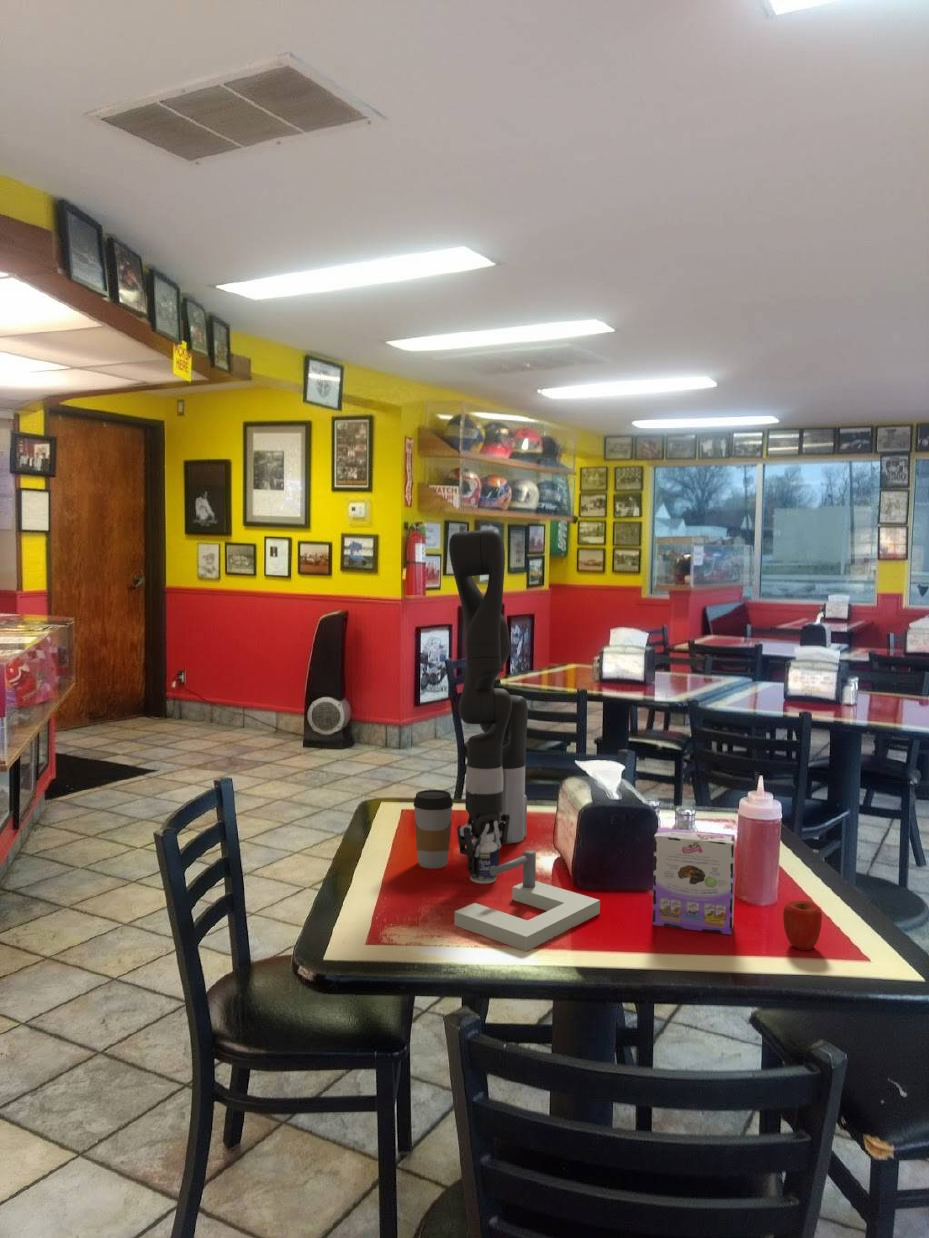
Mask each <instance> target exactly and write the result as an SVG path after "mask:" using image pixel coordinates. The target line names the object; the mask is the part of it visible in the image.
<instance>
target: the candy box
mask: <svg viewBox="0 0 929 1238" xmlns="http://www.w3.org/2000/svg"><path fill="white" fill-rule="evenodd" d="M735 837H736V835H735V834H728V833H720V832H719V833H716V832H710V831H709V832H707V831H699V830H698V831H697V830H687V829H676V828H666V827H657V830H656V832H655V834H654V836H653V876H652V877H653V878H652V879H653V880H652V881H653V883H652V884H653V885H652V920H651V921H652V922H651V925H653V926H658V927H668V928H675V929H683V930H690V931H698V932H706V933H717V934H723V935H732V934H733V927H734V911H735V910H734V908H735V907H734V906H735V886H736V885H735V884H736V883H735V877H736V875H735V867H736V866H735V865H736V863H735V861H736V860H735V859H736V855H735V853H736V851H735V850H736V847H735V846H736V845H735V843H736V841H735V840H736V838H735Z"/></svg>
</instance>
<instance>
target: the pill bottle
mask: <svg viewBox="0 0 929 1238" xmlns="http://www.w3.org/2000/svg"><path fill="white" fill-rule="evenodd" d="M474 840H476V841H478V840H479V839H478V838H475V837H474ZM493 840H494V832H491V833H489V834H486V837H485V841H484V845H483V846H481V848H480V852H479V874H478V875H473V874H470V873H469V879H470V881H471V882H474V883H476V884H481V885H482V884H483V885H485V884H487V885H488V884H491V883H492V884H493V883H494V882H495V881H497V877H498V875H495V876H491V874H490V869H491V868H494V867H496V866H497V844H496V843H495V842H493ZM475 846H476V845H475V844H474V845H473V850H474V849H475Z"/></svg>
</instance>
